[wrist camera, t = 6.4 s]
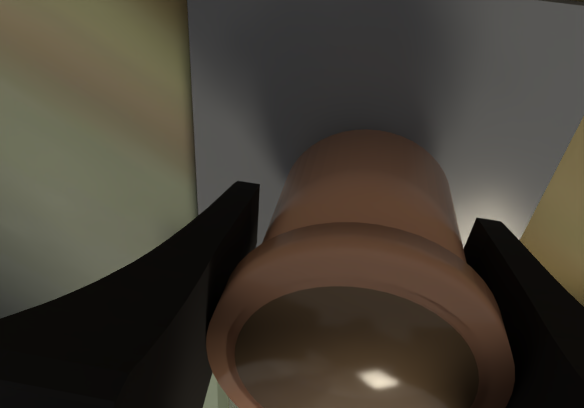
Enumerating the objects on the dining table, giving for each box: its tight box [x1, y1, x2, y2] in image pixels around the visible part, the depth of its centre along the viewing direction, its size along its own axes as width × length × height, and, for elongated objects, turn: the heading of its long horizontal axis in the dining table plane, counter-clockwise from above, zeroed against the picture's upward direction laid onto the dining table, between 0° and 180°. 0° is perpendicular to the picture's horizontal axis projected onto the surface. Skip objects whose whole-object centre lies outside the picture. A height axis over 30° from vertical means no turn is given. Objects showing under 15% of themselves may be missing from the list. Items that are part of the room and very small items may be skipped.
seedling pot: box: [206, 129, 515, 408], centre depth 11 cm, size 6×6×6 cm
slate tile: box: [187, 0, 584, 249], centre depth 14 cm, size 11×11×1 cm
